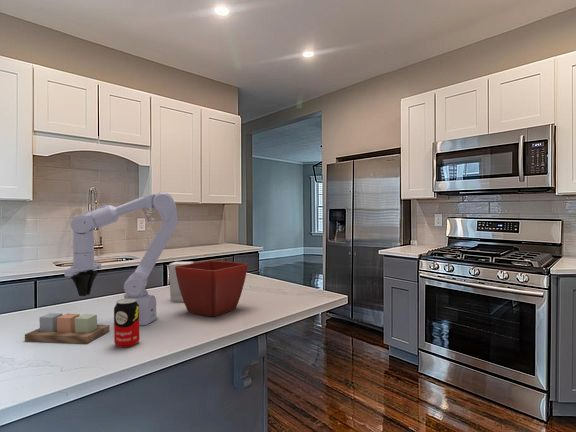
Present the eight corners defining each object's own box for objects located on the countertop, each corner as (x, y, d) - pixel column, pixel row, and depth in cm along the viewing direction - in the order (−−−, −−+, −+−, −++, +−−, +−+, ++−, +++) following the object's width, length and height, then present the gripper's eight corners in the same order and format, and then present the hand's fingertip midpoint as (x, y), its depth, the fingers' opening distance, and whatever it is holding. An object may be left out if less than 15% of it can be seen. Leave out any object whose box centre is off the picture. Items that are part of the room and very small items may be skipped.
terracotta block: (79, 328, 106) (79, 314, 106) (70, 333, 102) (69, 318, 102) (67, 328, 106) (67, 313, 106) (57, 332, 102) (57, 317, 102)
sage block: (97, 329, 105) (96, 314, 105) (87, 334, 101) (87, 318, 101) (84, 328, 106) (84, 314, 106) (75, 333, 102) (74, 318, 102)
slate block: (62, 328, 107) (62, 313, 107) (52, 332, 103) (52, 317, 103) (50, 327, 107) (50, 313, 107) (39, 332, 103) (39, 317, 103)
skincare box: (195, 298, 148) (194, 261, 148) (189, 302, 141) (188, 263, 141) (175, 298, 149) (175, 261, 149) (169, 302, 142) (168, 263, 142)
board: (109, 331, 108) (109, 325, 108) (87, 343, 98) (87, 336, 98) (52, 329, 110) (52, 323, 110) (24, 341, 100) (24, 334, 100)
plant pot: (211, 301, 143) (210, 259, 143) (249, 307, 134) (248, 263, 133) (173, 313, 127) (173, 266, 127) (214, 321, 117) (213, 270, 117)
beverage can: (111, 344, 98) (110, 300, 98) (134, 338, 102) (133, 296, 102) (119, 350, 94) (118, 305, 93) (143, 343, 98) (142, 300, 98)
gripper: (87, 249, 121) (87, 289, 121) (54, 255, 106) (55, 300, 106) (106, 250, 120) (107, 290, 120) (76, 255, 105) (77, 301, 106)
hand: (84, 295), depth 113 cm, fingers closed
